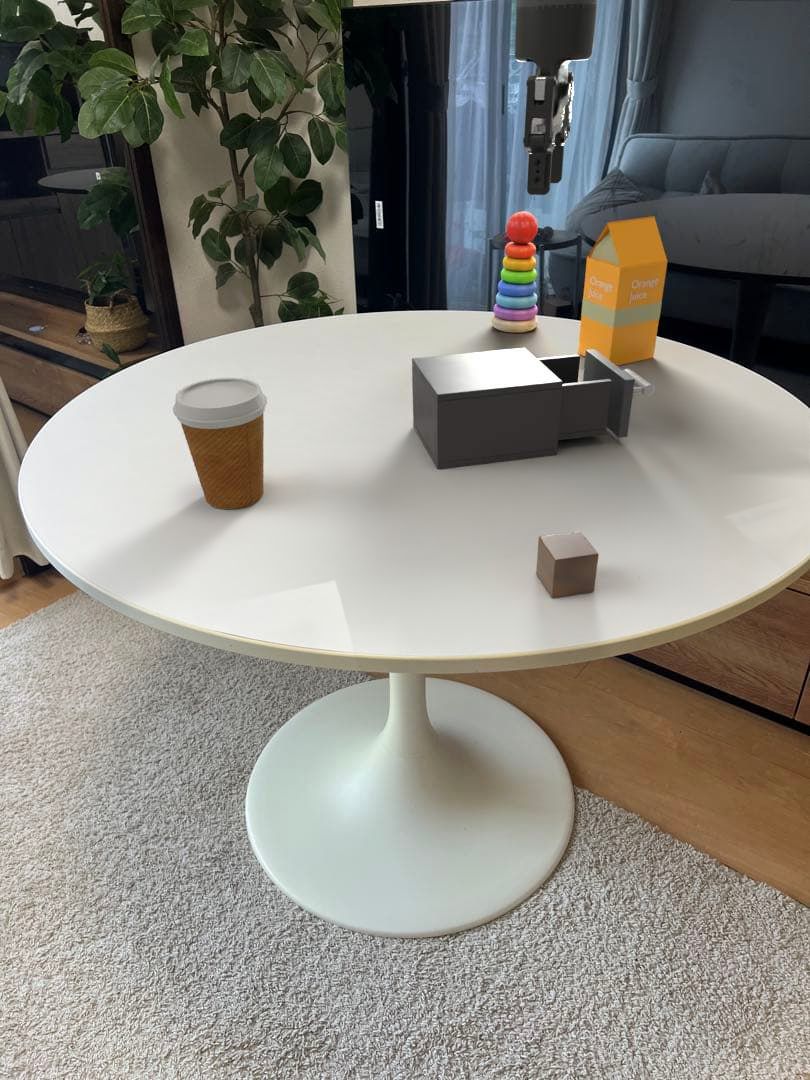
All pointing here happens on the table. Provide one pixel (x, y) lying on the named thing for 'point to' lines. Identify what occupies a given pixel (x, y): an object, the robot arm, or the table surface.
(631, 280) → the orange juice
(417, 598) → the table surface
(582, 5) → the robot arm
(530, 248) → the stacking toy
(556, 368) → the drawer
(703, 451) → the table surface
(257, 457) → the disposable coffee cup
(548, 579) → the block
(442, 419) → the cabinet
